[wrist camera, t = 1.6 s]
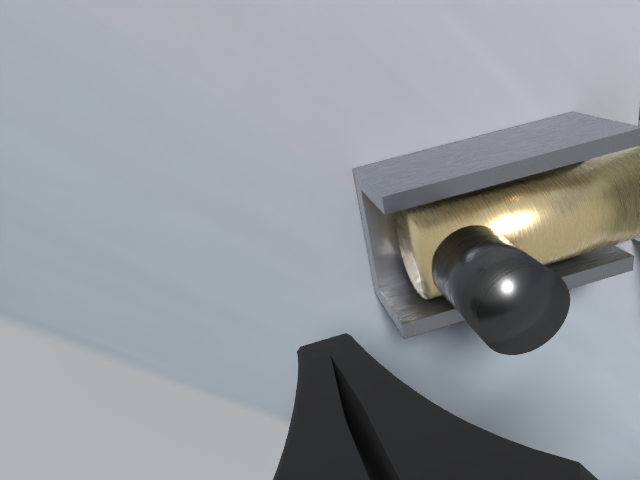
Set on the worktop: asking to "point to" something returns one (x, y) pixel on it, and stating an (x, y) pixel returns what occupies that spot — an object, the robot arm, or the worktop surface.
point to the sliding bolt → (519, 245)
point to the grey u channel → (468, 175)
